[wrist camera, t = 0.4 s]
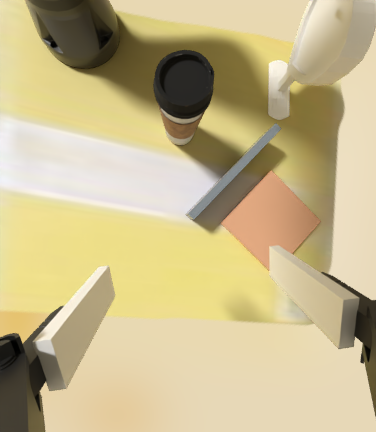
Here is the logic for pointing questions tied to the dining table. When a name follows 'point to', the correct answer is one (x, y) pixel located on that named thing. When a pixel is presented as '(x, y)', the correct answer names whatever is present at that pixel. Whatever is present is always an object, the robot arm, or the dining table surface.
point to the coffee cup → (183, 93)
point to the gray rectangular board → (232, 172)
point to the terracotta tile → (270, 219)
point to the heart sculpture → (322, 48)
